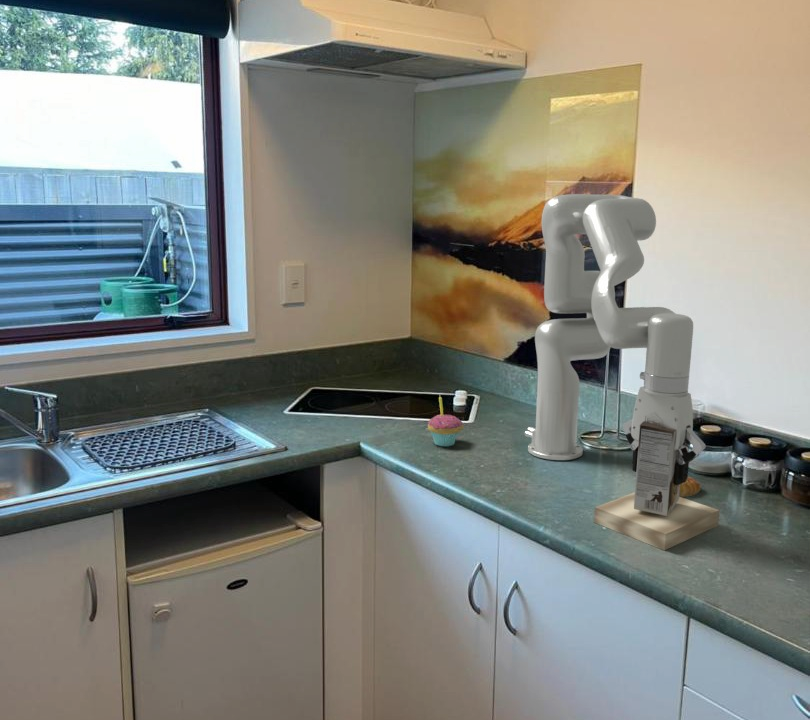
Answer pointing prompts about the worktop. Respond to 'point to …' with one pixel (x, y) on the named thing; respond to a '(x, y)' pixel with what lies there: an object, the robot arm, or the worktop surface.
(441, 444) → the cupcake
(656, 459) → the coffee box
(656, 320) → the robot arm
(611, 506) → the birch base
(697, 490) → the pastry
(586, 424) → the worktop surface
